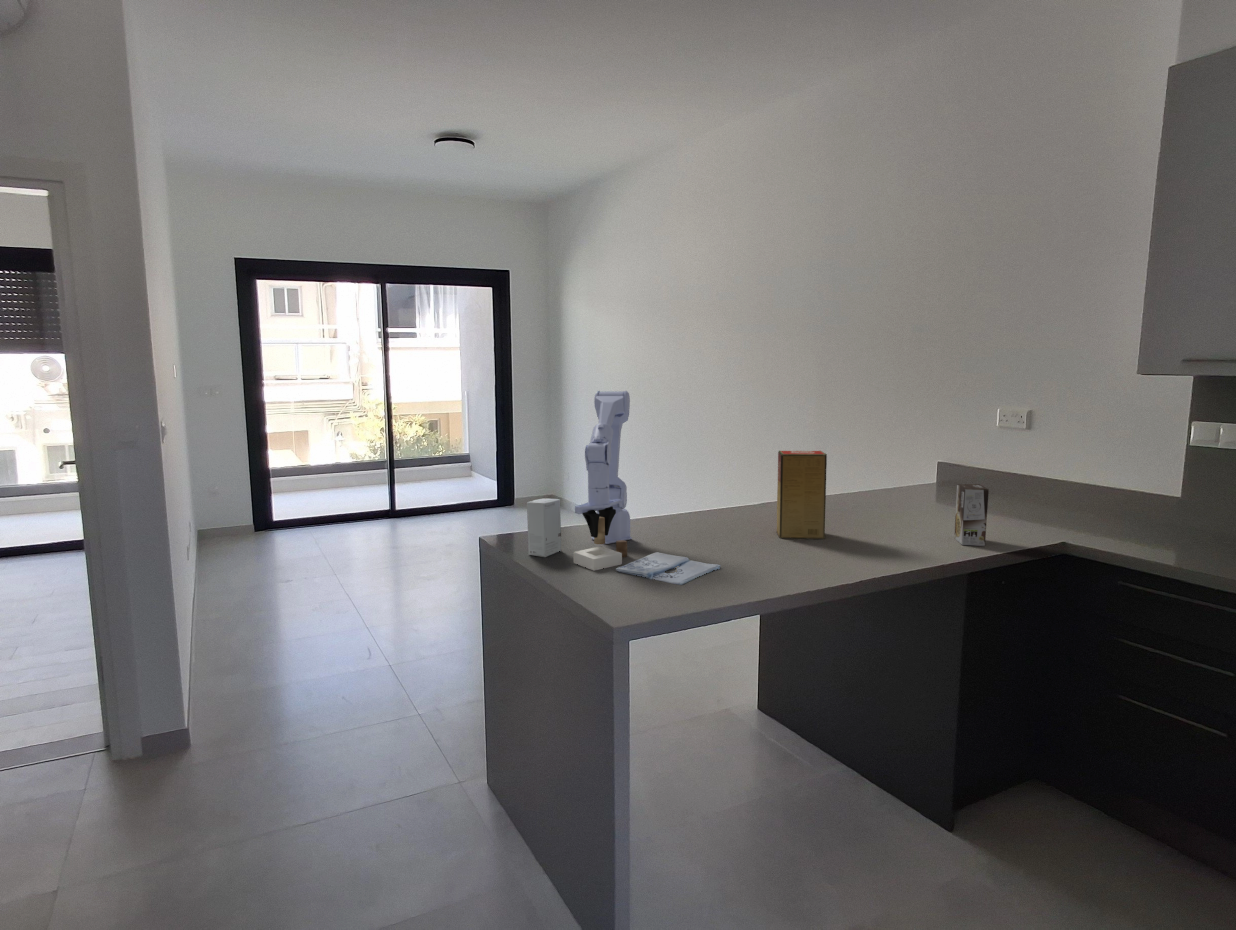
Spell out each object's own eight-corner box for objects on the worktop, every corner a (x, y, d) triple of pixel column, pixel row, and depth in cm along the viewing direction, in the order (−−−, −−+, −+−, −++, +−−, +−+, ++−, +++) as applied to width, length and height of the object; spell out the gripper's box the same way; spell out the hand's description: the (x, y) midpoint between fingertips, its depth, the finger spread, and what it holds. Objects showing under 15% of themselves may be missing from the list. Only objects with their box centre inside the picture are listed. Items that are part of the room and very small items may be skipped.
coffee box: (986, 546, 205) (989, 489, 203) (961, 545, 207) (964, 488, 204) (977, 538, 214) (980, 483, 212) (953, 537, 215) (956, 483, 213)
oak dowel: (600, 540, 204) (600, 516, 203) (607, 543, 202) (607, 518, 201) (592, 542, 203) (591, 517, 202) (598, 544, 200) (598, 519, 199)
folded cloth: (658, 557, 200) (658, 549, 200) (723, 570, 187) (723, 562, 187) (613, 573, 185) (613, 565, 185) (680, 589, 173) (680, 580, 172)
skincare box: (545, 558, 199) (543, 503, 196) (527, 555, 202) (525, 501, 199) (562, 550, 206) (561, 498, 204) (544, 548, 209) (543, 496, 207)
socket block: (601, 557, 199) (601, 546, 198) (622, 564, 192) (621, 553, 191) (573, 563, 193) (573, 551, 193) (593, 570, 186) (593, 559, 186)
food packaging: (820, 531, 224) (822, 450, 221) (825, 539, 215) (828, 454, 212) (775, 531, 226) (777, 449, 222) (779, 538, 217) (780, 454, 213)
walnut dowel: (622, 553, 202) (622, 539, 201) (629, 556, 200) (629, 541, 199) (613, 555, 200) (613, 541, 200) (620, 558, 198) (620, 543, 197)
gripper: (585, 492, 192) (586, 543, 195) (628, 485, 201) (629, 534, 203) (570, 488, 198) (571, 538, 200) (613, 482, 207) (613, 529, 209)
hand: (599, 535), depth 202 cm, fingers closed on oak dowel, 3 cm apart
